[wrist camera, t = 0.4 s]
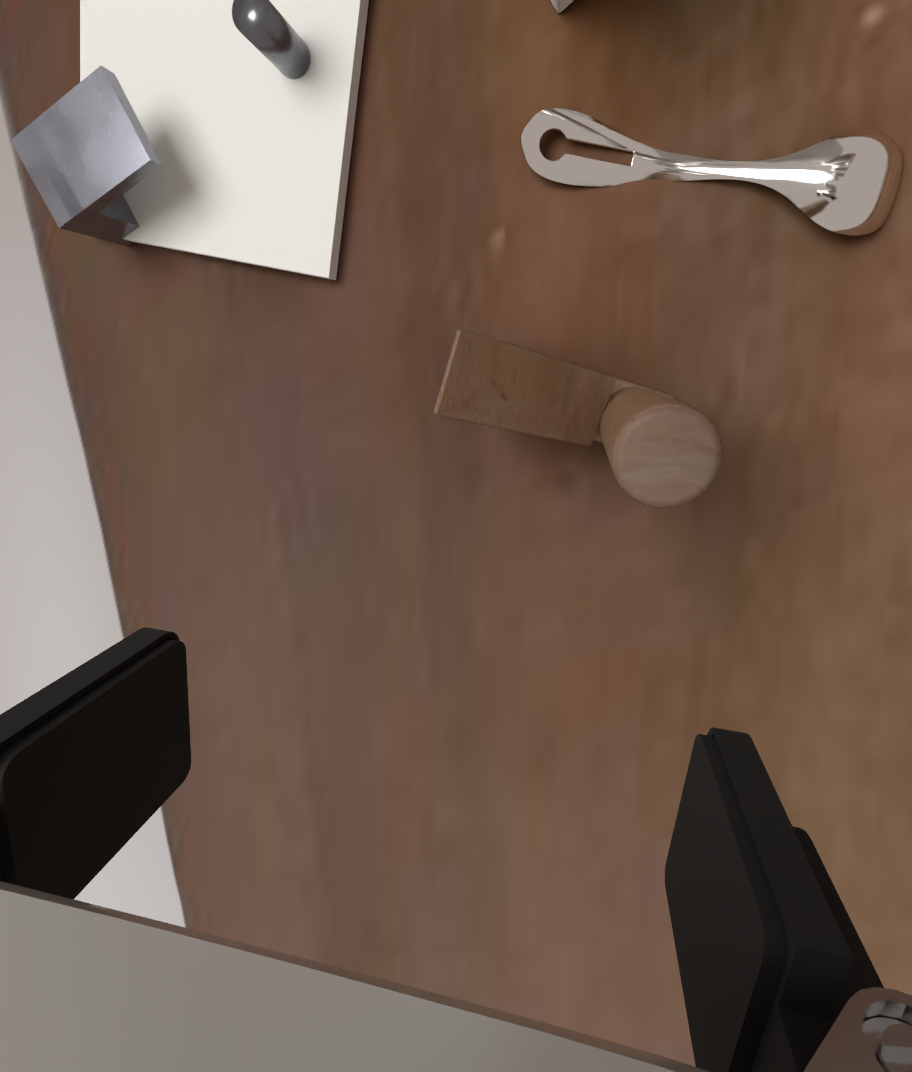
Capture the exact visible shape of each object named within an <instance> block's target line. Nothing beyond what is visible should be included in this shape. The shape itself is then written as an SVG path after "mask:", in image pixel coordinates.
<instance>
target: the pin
mask: <svg viewBox="0 0 912 1072" xmlns="http://www.w3.org/2000/svg"><path fill="white" fill-rule="evenodd" d="M232 18H233V22H234V24H235V26H236V28H237V29H238V30H239V31H240V32H241V33H242V34H243V35H244V36H245V37H246V38H247V39H248V40H249V41H250V42H251V43H252V44H253V45H254V46H255V47H256V48H257V49H258V50H259V51H260V52H261V53H262V54H263V55H264V56H265V57H266V58H267V59H268V60H269V61H270V62H271V63H272V64H273V65H274V66H275V67H276V68H277V69H278V70H279V71H280V72H281V73H282V74H283V75H284V76H286V77H287V78H289V79H299V78H301V77H302V76H304V75H305V74H306V72H307V71H308V69H309V66H310V61H311V55H310V51H309V48H308V46H307V45H306V43H305V42H304V41H303V40H302V38H301V37H300V36H299V35H298V34H297V33H296V31H295V30H294V29H293V28H292V27H291V25H290V24H289V23H288V22H287V21H286V20H285V18H284V17H283V16H282V15H281V14H280V13H279V11H278V10H277V9H276V8H275V7H274V5H273V4H272V3H271V2H270V1H269V0H234V1H233V5H232Z"/></svg>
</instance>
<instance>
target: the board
mask: <svg viewBox="0 0 912 1072" xmlns="http://www.w3.org/2000/svg"><path fill="white" fill-rule="evenodd" d="M233 1H234V0H80V82H81V81H83V80H84V79H85V78H86V77H87V76H89V75H90V74H91V73H92V72H93V71H95V70H96V69H97V68H98V67H99V66H103V67H105V68H106V69H108V70H109V71H111V72H113V73H114V74H115V76H116V77H117V79H118V81H119V83H120V85H121V87H122V89H123V91H124V93H125V95H126V97H127V99H128V101H129V102H130V104H131V106H132V108H133V110H134V112H135V114H136V116H137V118H138V120H139V122H140V124H141V125H142V127H143V129H144V131H145V133H146V135H147V137H148V139H149V141H150V143H151V145H152V147H153V149H154V150H155V152H156V154H157V156H158V158H159V160H160V162H161V164H162V166H161V167H160V168H158V169H157V170H156V171H154V172H153V173H152V174H150V175H149V176H148V177H146V178H145V179H143V180H142V181H141V182H139V183H138V184H137V185H135V186H134V187H133V188H131V189H130V190H129V191H127V192H126V193H124V194H123V196H124V198H125V200H126V202H127V203H128V205H129V207H130V209H131V211H132V213H133V215H134V217H135V218H136V220H137V222H138V224H139V226H140V227H139V228H137V229H136V230H134V231H133V232H132V233H130V234H129V235H127V236H126V237H124V238H123V239H125V240H128V241H132V242H136V243H141V244H147V245H152V246H157V247H162V248H168V249H173V250H178V251H183V252H189V253H194V254H199V255H204V256H210V257H215V258H220V259H225V260H231V261H236V262H241V263H247V264H252V265H257V266H262V267H268V268H273V269H278V270H283V271H289V272H294V273H299V274H304V275H310V276H315V277H320V278H325V279H331V280H336V276H337V268H338V259H339V251H340V242H341V234H342V225H343V217H344V208H345V200H346V191H347V183H348V174H349V166H350V157H351V149H352V140H353V132H354V123H355V115H356V106H357V98H358V89H359V81H360V72H361V64H362V55H363V47H364V38H365V30H366V21H367V13H368V4H369V0H269V1H270V2H271V3H272V4H273V5H274V7H275V8H276V9H277V10H278V11H279V13H280V14H281V15H282V16H283V17H284V18H285V20H286V21H287V22H288V23H289V24H290V25H291V27H292V28H293V29H294V30H295V31H296V33H297V34H298V35H299V36H300V37H301V38H302V40H303V41H304V42H305V43H306V45H307V46H308V48H309V51H310V55H311V61H310V66H309V69H308V71H307V72H306V74H305V75H304V76H302V77H301V78H299V79H289V78H287V77H286V76H284V75H283V74H282V73H281V72H280V71H279V70H278V69H277V68H276V67H275V66H274V65H273V64H272V63H271V62H270V61H269V60H268V59H267V58H266V57H265V56H264V55H263V54H262V53H261V52H260V51H259V50H258V49H257V48H256V47H255V46H254V45H253V44H252V43H251V42H250V41H249V40H248V39H247V38H246V37H245V36H244V35H243V34H242V33H241V32H240V31H239V30H238V29H237V28H236V26H235V24H234V22H233V18H232V5H233Z"/></svg>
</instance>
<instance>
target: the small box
mask: <svg viewBox="0 0 912 1072" xmlns="http://www.w3.org/2000/svg"><path fill="white" fill-rule="evenodd" d="M550 1H551V3H552V5H553V6H554V8H555V9H556V11H557V12H558V13H560V12H562V11H563V10H564V9H565V8H566V7H567V6H568V5H569V4H570V3H572V2H573V1H574V0H550Z"/></svg>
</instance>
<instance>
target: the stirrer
mask: <svg viewBox="0 0 912 1072" xmlns="http://www.w3.org/2000/svg"><path fill="white" fill-rule="evenodd" d="M549 130H558V131H560V132H561V133H563V134H564V136H565V138H566V139H567V140H572V141H577V142H582V143H587V144H591V145H596V146H601V147H606V148H611V149H616V150H621V151H626V152H631V153H633V156H632V161H631V165H630V166H627V165H622V164H617V163H612V162H607V161H602V160H597V159H592V158H587V157H582V156H577V155H572V154H567V153H565V154H564V155H563V156H562V157H561V158H560V159H558V160H554V161H552V160H548V159H546V158H545V157H544V156H543V155H542V153H541V151H540V140H541V138H542V136H543V135H544V134H545V133H546V132H547V131H549ZM520 143H521V148H522V151H523V154H524V158H525V160H526V163H527V164H528V166H529V167H530V168H531V169H532V170H533V171H534V172H535V173H537V174H538V175H540V176H542V177H544V178H547V179H549V180H552V181H555V182H559V183H564V184H570V185H577V186H592V187H610V186H614V185H617V184H621V183H625V182H630V181H635V180H642V179H663V180H670V181H674V182H682V181H694V180H712V179H729V180H742V181H749V182H754V183H758V184H761V185H764V186H767V187H770V188H772V189H774V190H776V191H778V192H779V193H781V194H782V195H784V196H785V197H787V198H788V199H789V200H790V201H791V202H793V203H794V204H795V205H796V206H797V207H798V208H799V209H800V210H801V211H802V212H804V213H805V214H806V215H807V216H808V217H809V218H810V219H812V220H813V221H814V222H816V223H817V224H819V225H820V226H822V227H824V228H825V229H827V230H830V231H832V232H835V233H839V234H844V235H865V234H869V233H871V232H873V231H875V230H877V229H878V228H879V227H881V226H882V224H883V223H884V222H885V221H886V219H887V217H888V215H889V213H890V211H891V208H892V206H893V203H894V200H895V198H896V195H897V192H898V188H899V185H900V181H901V177H902V169H903V161H902V154H901V151H900V148H899V146H898V145H897V143H896V142H895V141H894V140H893V139H892V138H891V137H890V136H889V135H887V134H885V133H883V132H881V131H877V130H873V129H857V130H851V131H847V132H844V133H840V134H838V135H835V136H832V137H830V138H828V139H825V140H823V141H821V142H819V143H816V144H814V145H812V146H810V147H808V148H805V149H803V150H801V151H798V152H795V153H793V154H790V155H786V156H783V157H779V158H774V159H768V160H761V161H723V160H714V159H707V158H701V157H696V156H691V155H687V154H677V153H669V152H664V151H660V150H657V149H654V148H651V147H649V146H647V145H645V144H643V143H641V142H639V141H638V140H636V139H634V138H633V137H631V136H629V135H628V134H626V133H625V132H623V131H622V130H620V129H618V128H615V127H613V126H611V125H609V124H607V123H604V122H602V121H600V120H598V119H595V118H593V117H590V116H588V115H585V114H582V113H579V112H576V111H573V110H568V109H563V108H549V109H544V110H542V111H540V112H538V113H537V114H536V115H535V116H534V117H533V118H532V119H531V121H530V122H529V123H528V124H527V125H526V127H525V128H524V130H523V131H522V134H521V138H520Z"/></svg>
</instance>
